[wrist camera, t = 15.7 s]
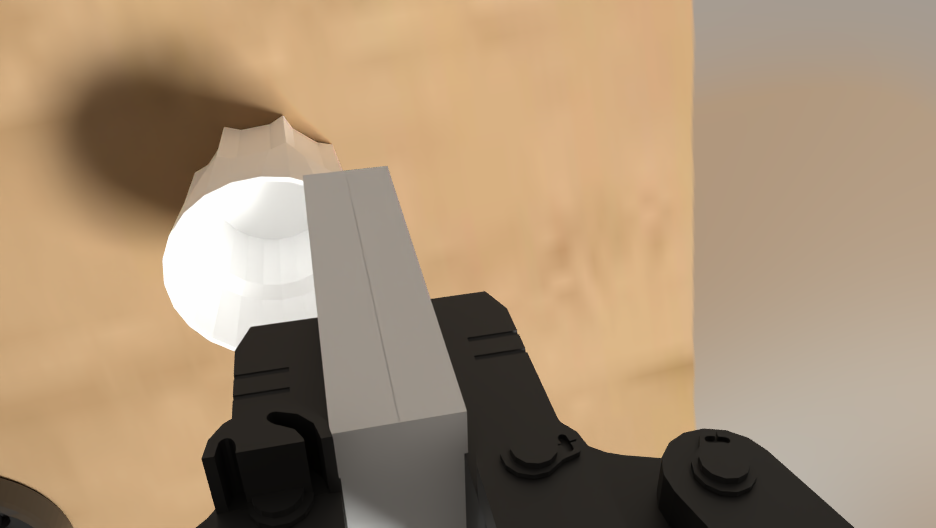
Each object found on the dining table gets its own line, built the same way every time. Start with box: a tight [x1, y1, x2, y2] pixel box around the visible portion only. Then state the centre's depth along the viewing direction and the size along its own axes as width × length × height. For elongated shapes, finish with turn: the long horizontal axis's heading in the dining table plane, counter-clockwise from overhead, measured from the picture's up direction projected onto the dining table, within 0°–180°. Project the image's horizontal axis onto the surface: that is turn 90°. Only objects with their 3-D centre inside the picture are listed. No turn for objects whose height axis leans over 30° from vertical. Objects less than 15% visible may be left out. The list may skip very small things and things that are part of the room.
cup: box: [163, 115, 343, 351], centre depth 42 cm, size 10×10×10 cm
